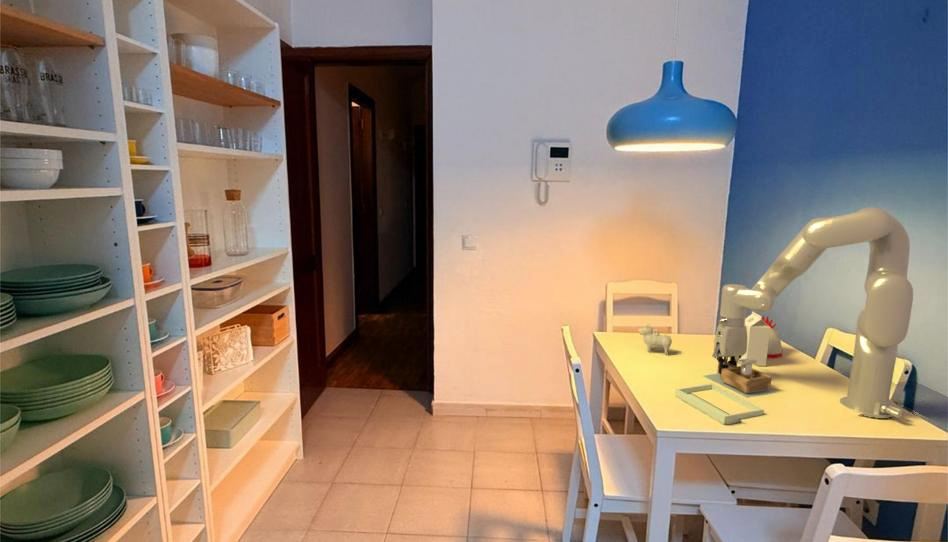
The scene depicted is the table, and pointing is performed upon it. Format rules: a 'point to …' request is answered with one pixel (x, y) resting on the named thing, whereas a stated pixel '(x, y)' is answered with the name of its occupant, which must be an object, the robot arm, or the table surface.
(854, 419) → the table surface
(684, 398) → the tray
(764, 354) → the milk carton
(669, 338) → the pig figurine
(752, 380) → the open wooden box
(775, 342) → the kitchen timer
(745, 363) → the stake
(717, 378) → the stake board
